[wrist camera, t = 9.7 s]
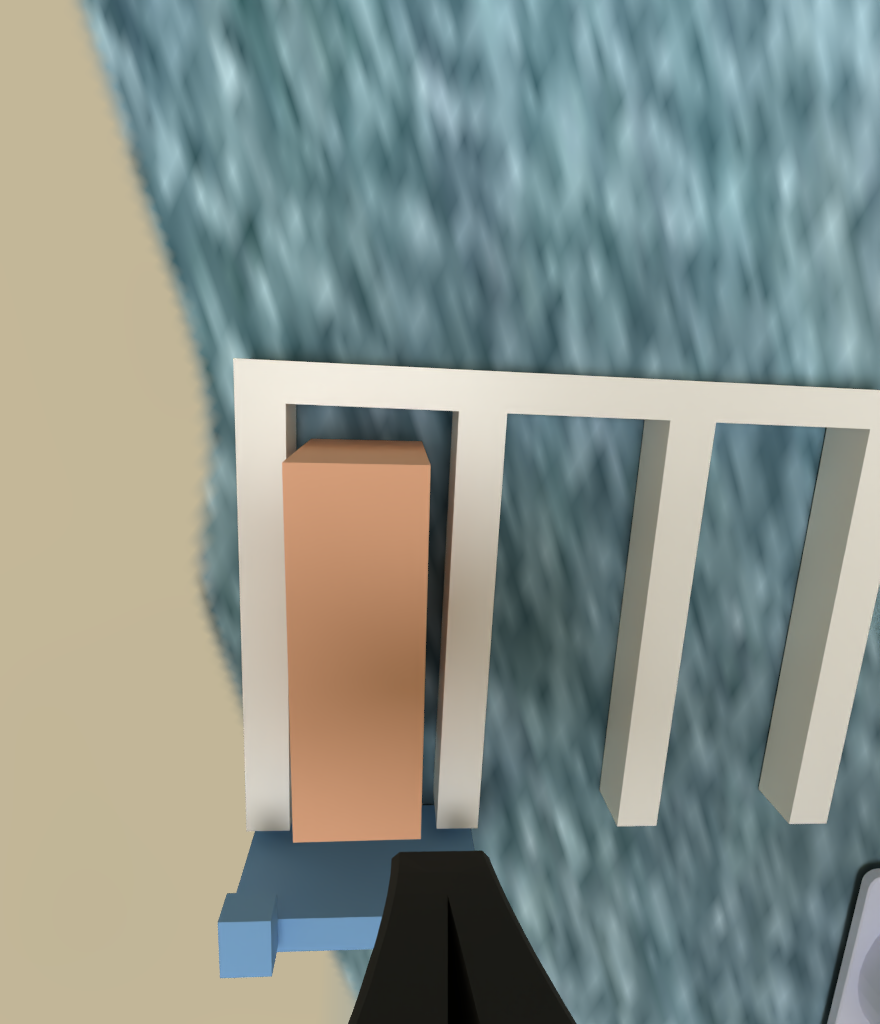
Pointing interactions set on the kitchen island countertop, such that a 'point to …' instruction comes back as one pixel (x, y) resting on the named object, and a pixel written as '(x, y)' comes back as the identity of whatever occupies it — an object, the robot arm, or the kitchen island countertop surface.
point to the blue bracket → (314, 895)
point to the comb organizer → (648, 583)
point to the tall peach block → (356, 636)
